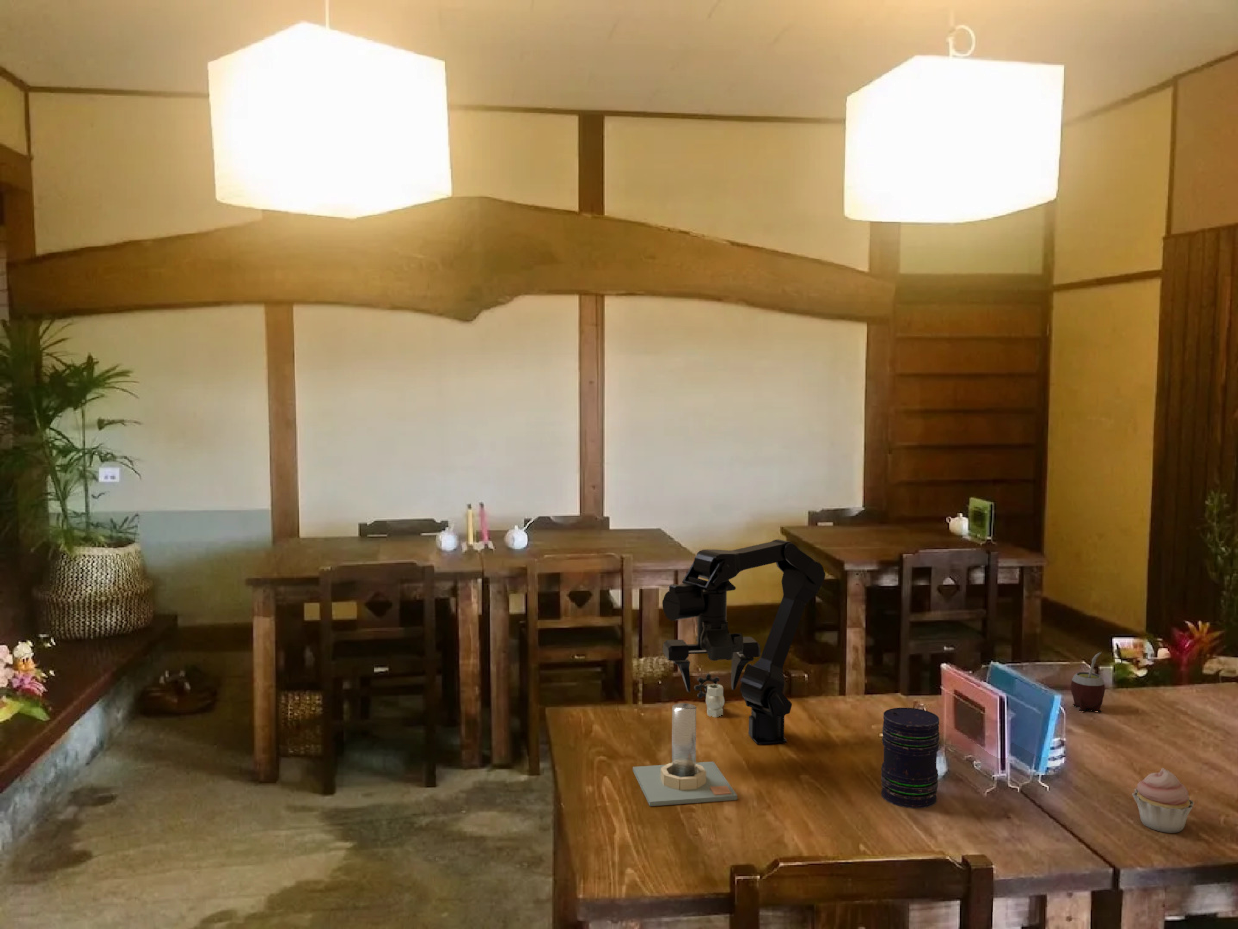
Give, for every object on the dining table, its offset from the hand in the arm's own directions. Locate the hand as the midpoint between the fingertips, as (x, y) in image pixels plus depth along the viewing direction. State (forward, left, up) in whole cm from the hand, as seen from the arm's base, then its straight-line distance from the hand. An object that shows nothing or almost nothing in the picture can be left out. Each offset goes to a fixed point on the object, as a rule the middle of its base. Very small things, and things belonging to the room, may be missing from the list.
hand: (711, 690), depth 199 cm
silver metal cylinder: (+9, +14, -12) cm, 21 cm away
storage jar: (-30, +26, -13) cm, 42 cm away
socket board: (+9, +14, -13) cm, 21 cm away
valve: (-8, -27, -13) cm, 31 cm away
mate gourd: (-92, -11, -13) cm, 94 cm away
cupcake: (-67, +44, -13) cm, 81 cm away
